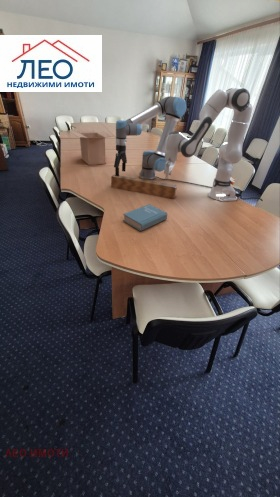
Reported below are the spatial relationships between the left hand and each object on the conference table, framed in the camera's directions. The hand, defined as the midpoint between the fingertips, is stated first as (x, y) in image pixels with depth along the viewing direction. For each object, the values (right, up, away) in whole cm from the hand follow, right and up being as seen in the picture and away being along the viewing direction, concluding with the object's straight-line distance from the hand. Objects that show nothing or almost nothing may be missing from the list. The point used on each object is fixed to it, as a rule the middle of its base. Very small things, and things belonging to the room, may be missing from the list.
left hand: (120, 173), depth 175 cm
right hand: (+36, -6, -11) cm, 38 cm away
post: (+18, -14, +3) cm, 22 cm away
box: (-35, +34, +62) cm, 79 cm away
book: (+19, -42, -36) cm, 58 cm away
